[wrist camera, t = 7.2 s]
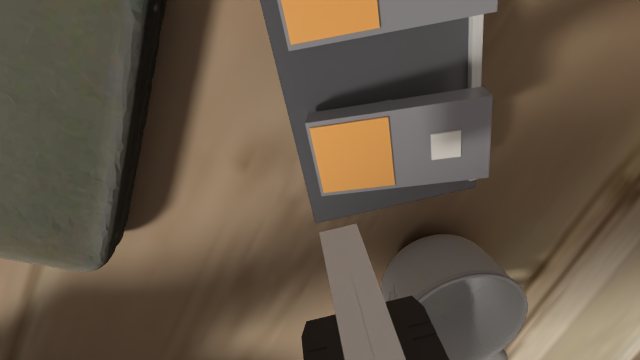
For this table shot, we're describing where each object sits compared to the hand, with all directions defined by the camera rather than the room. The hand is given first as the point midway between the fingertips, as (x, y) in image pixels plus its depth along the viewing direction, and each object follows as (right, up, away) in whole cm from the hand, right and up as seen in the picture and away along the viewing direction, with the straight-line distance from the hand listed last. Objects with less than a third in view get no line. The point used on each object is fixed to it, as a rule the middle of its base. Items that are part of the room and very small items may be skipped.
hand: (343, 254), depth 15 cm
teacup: (+10, -6, +22) cm, 25 cm away
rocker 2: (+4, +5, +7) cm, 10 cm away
